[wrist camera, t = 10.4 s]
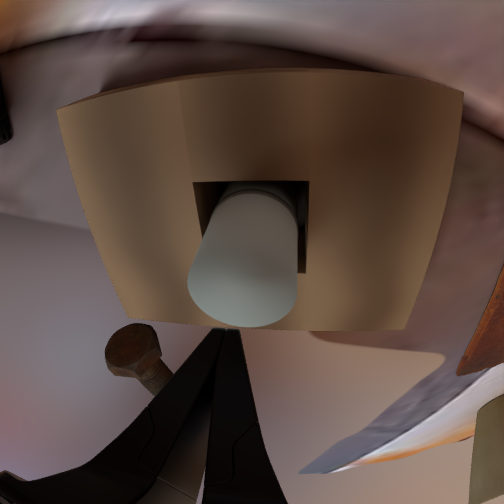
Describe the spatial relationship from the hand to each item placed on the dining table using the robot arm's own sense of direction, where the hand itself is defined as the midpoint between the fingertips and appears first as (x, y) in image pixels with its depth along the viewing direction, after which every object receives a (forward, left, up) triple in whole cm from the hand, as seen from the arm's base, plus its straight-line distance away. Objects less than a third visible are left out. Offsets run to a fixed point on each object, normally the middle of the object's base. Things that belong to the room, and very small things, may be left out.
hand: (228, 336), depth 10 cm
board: (0, 0, -10) cm, 10 cm away
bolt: (-11, -20, -11) cm, 25 cm away
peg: (0, 0, -10) cm, 10 cm away
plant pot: (+37, -33, -10) cm, 50 cm away
